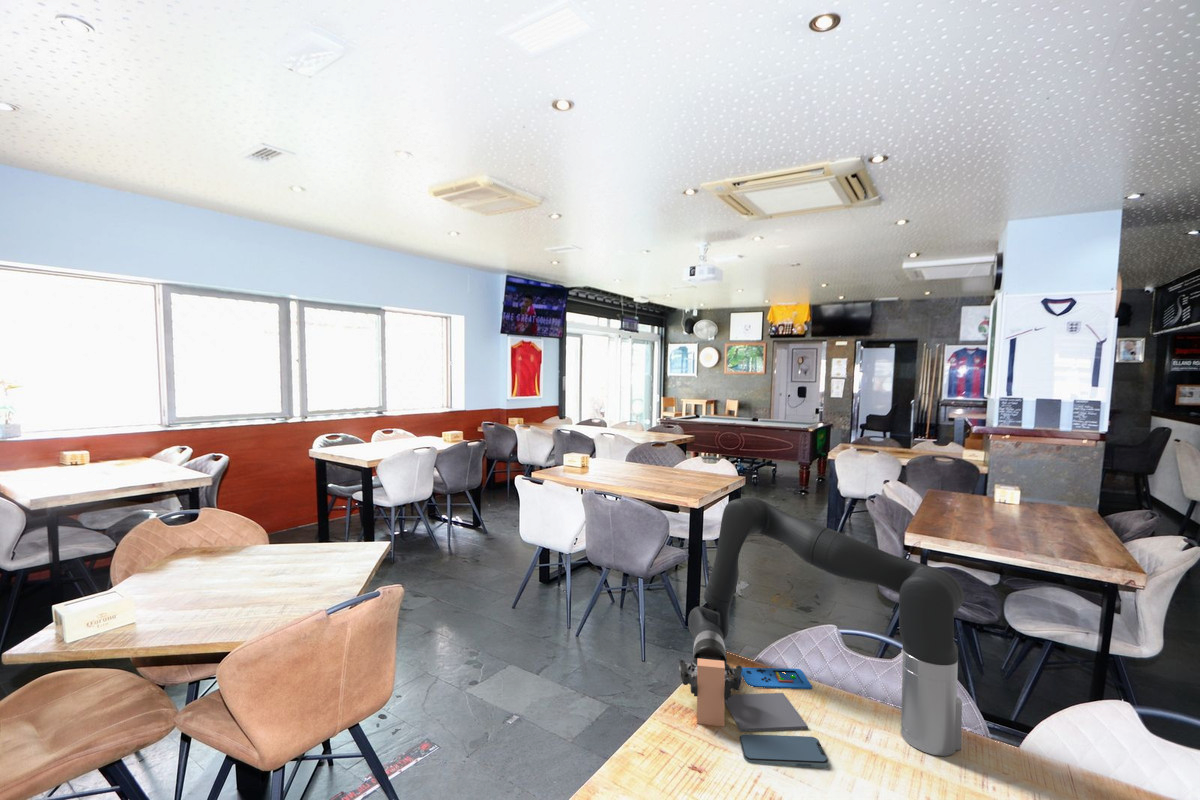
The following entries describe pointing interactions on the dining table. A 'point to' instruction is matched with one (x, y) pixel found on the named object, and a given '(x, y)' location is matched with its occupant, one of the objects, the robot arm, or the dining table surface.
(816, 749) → the smartphone
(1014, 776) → the dining table surface
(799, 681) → the handheld gaming device
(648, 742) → the dining table surface
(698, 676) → the tan rectangular block
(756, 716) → the rubber mat
